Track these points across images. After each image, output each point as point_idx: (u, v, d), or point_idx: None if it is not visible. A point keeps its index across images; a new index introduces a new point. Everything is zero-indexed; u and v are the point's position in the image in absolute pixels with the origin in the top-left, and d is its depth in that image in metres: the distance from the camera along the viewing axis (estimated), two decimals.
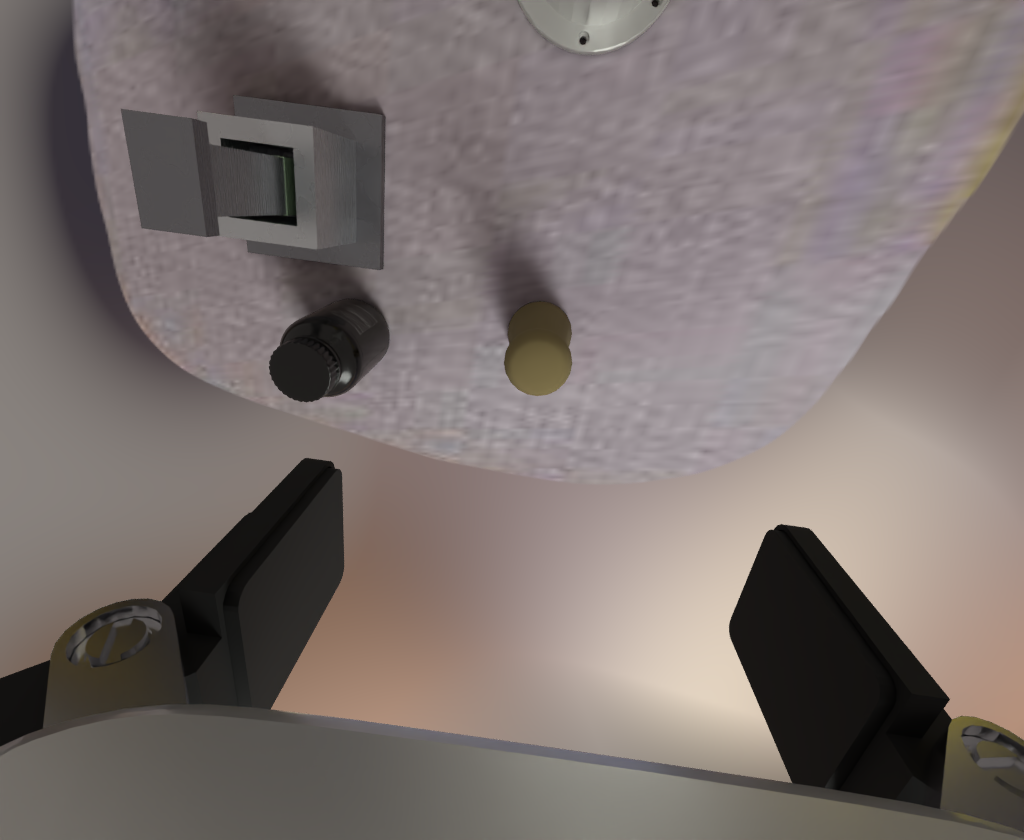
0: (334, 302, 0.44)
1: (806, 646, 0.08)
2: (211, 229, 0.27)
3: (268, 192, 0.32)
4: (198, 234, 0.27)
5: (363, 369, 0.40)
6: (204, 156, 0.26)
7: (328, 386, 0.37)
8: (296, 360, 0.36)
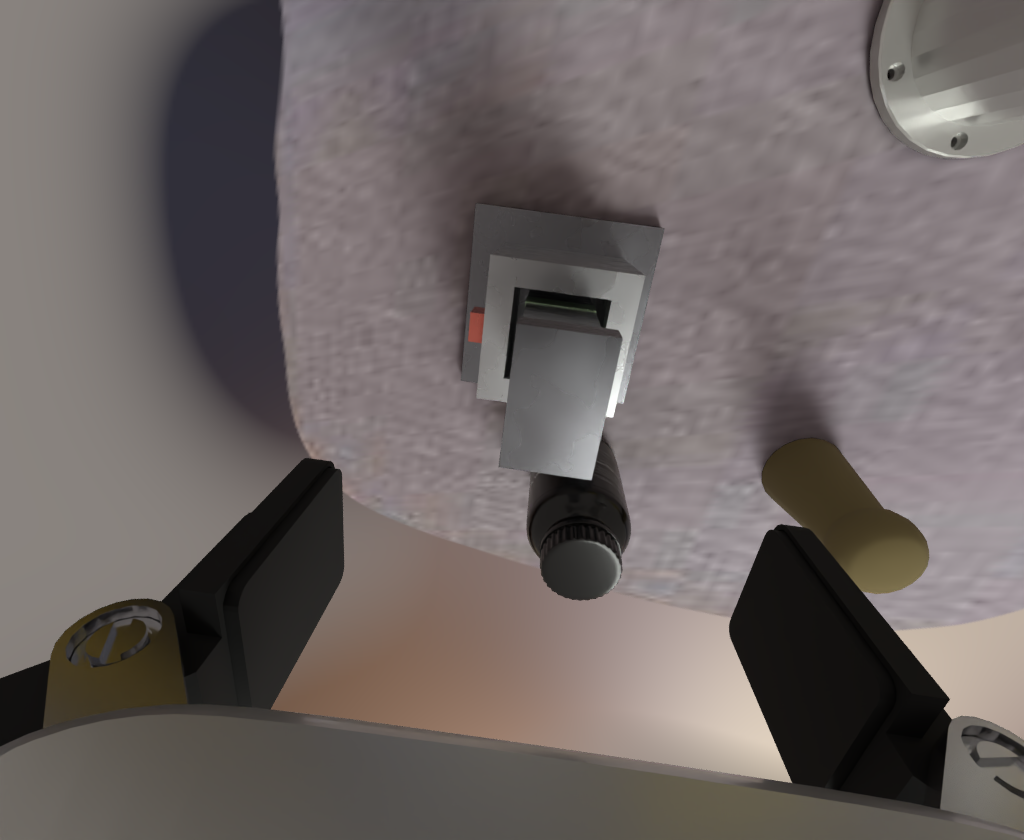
0: None
1: (806, 646, 0.08)
2: None
3: None
4: (581, 477, 0.19)
5: None
6: None
7: (614, 585, 0.29)
8: (580, 557, 0.28)
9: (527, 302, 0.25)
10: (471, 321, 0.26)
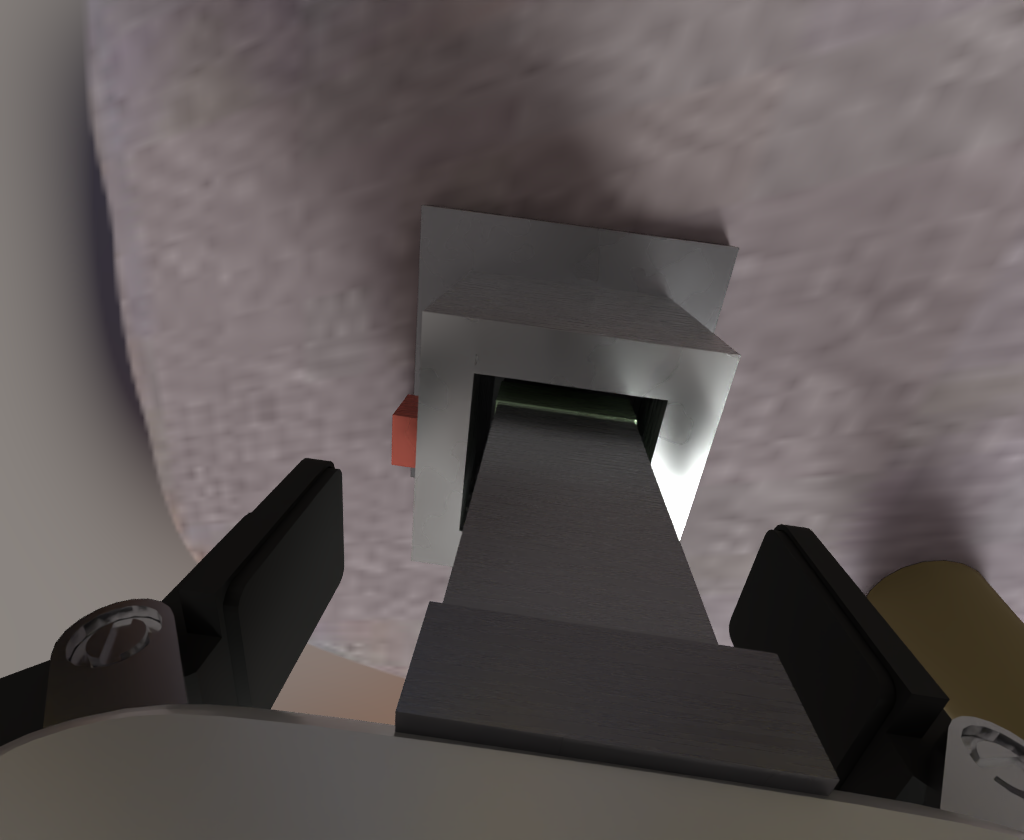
0: None
1: (806, 646, 0.08)
2: None
3: None
4: None
5: None
6: None
7: None
8: None
9: (500, 402, 0.13)
10: (395, 431, 0.14)
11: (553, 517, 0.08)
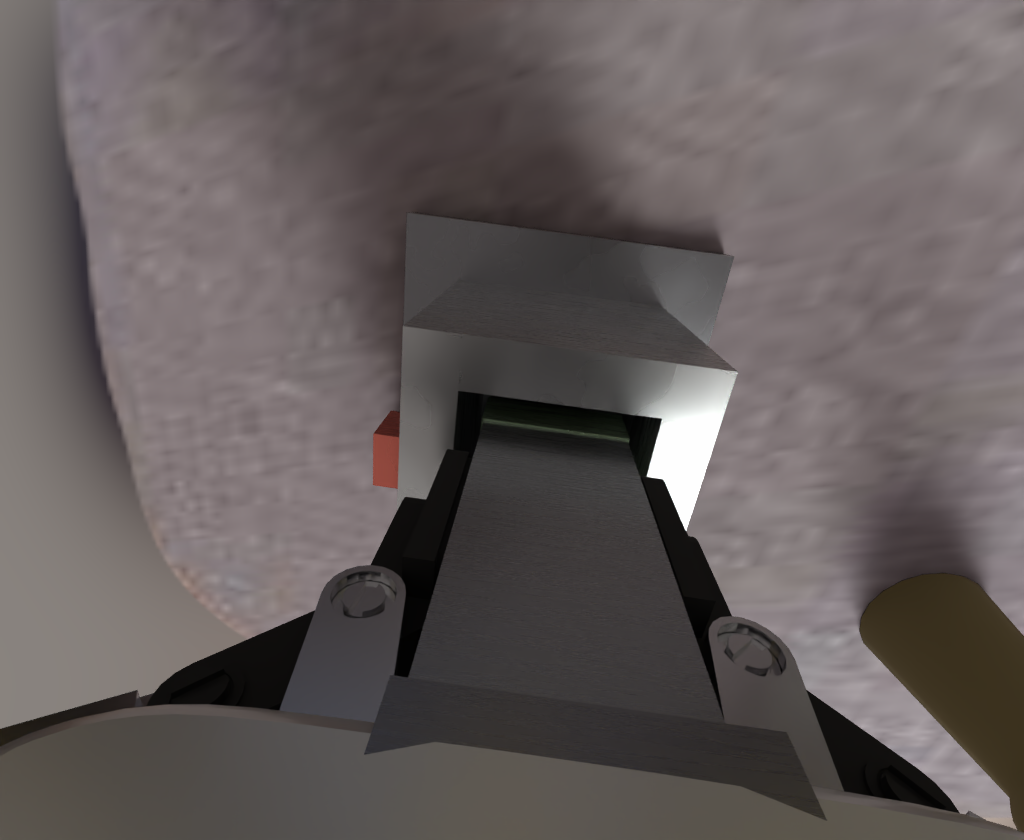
0: None
1: None
2: None
3: None
4: None
5: None
6: None
7: None
8: None
9: (485, 421, 0.12)
10: (376, 450, 0.13)
11: (539, 553, 0.08)
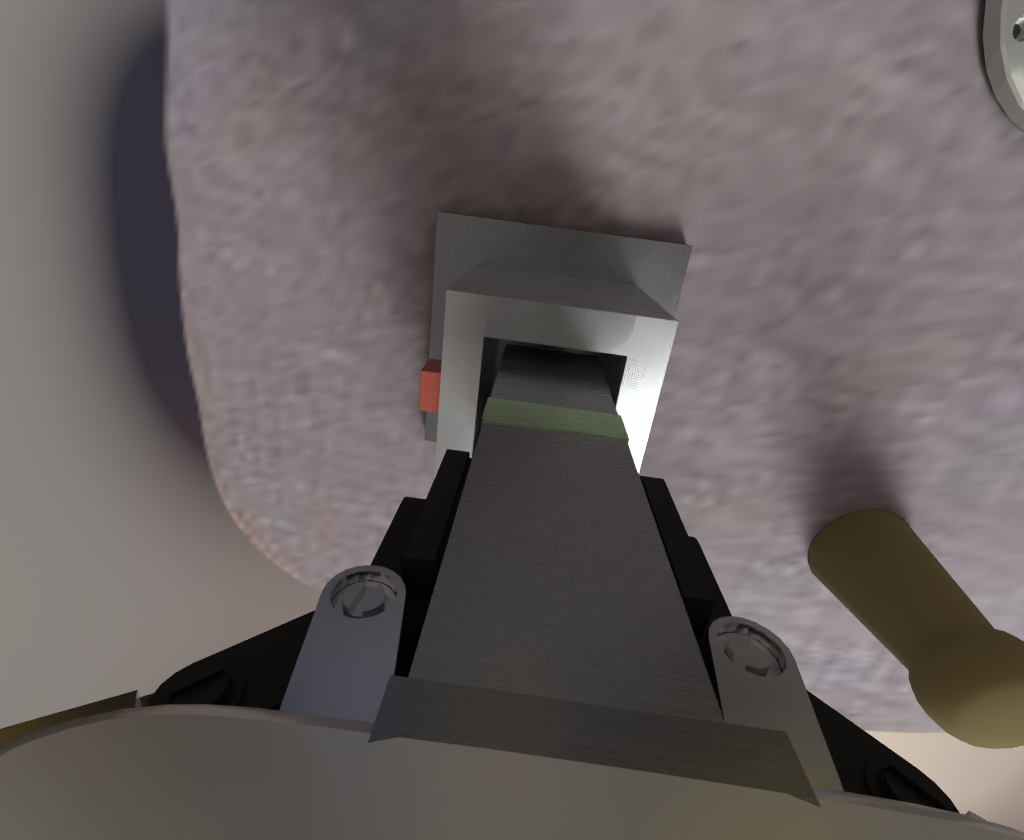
0: None
1: None
2: None
3: None
4: None
5: None
6: None
7: None
8: None
9: (485, 421, 0.12)
10: (423, 383, 0.18)
11: (538, 553, 0.08)
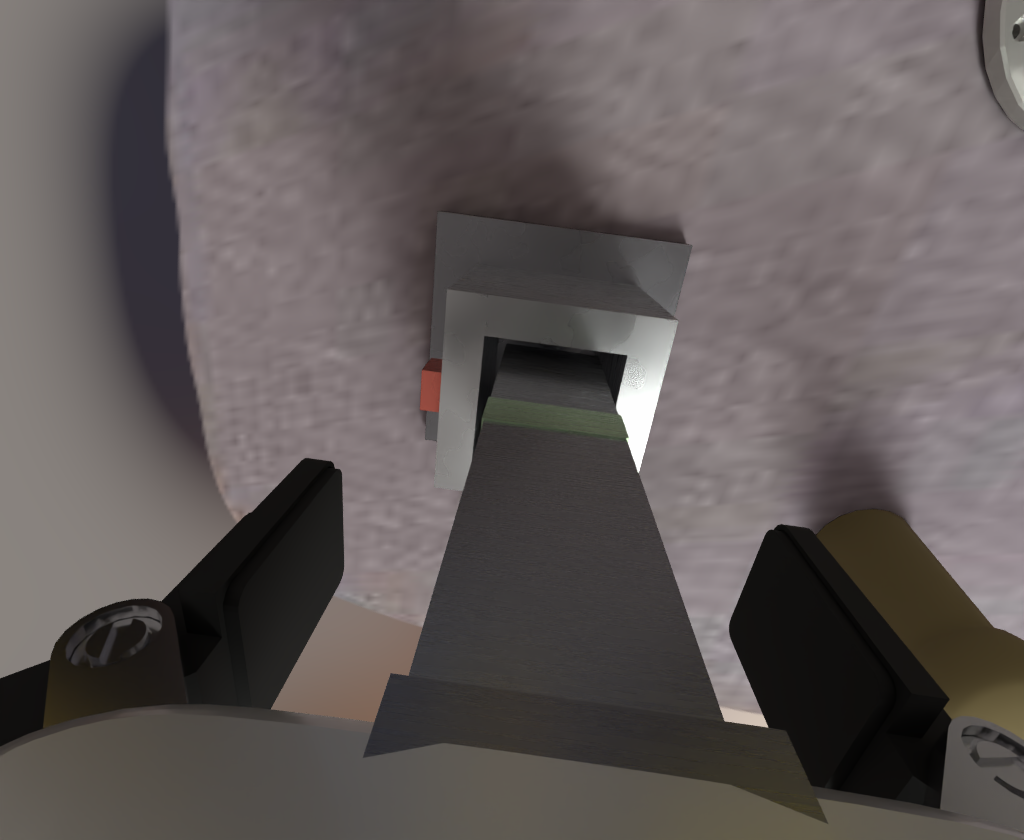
0: None
1: (806, 646, 0.08)
2: None
3: None
4: None
5: None
6: None
7: None
8: None
9: (485, 421, 0.12)
10: (423, 382, 0.18)
11: (538, 552, 0.08)
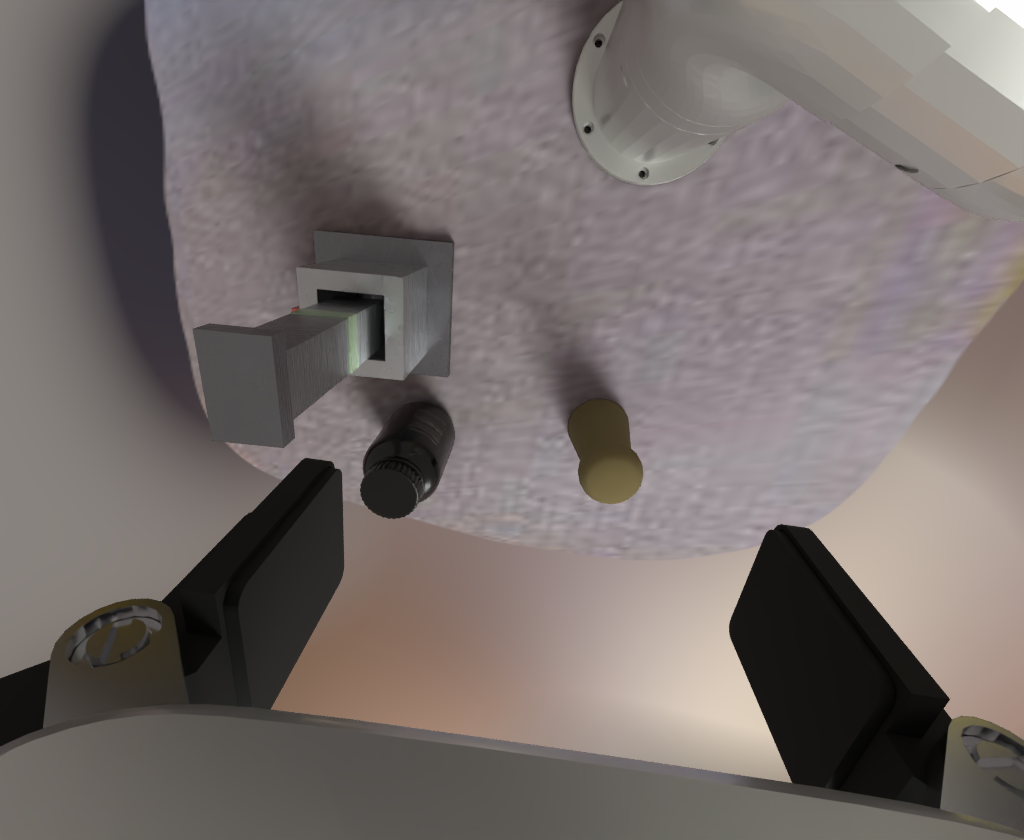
0: (405, 408, 0.47)
1: (806, 646, 0.08)
2: (287, 437, 0.24)
3: (335, 362, 0.30)
4: (274, 446, 0.24)
5: (440, 478, 0.43)
6: (282, 367, 0.23)
7: (415, 504, 0.39)
8: (386, 483, 0.38)
9: (291, 313, 0.31)
10: None
11: None
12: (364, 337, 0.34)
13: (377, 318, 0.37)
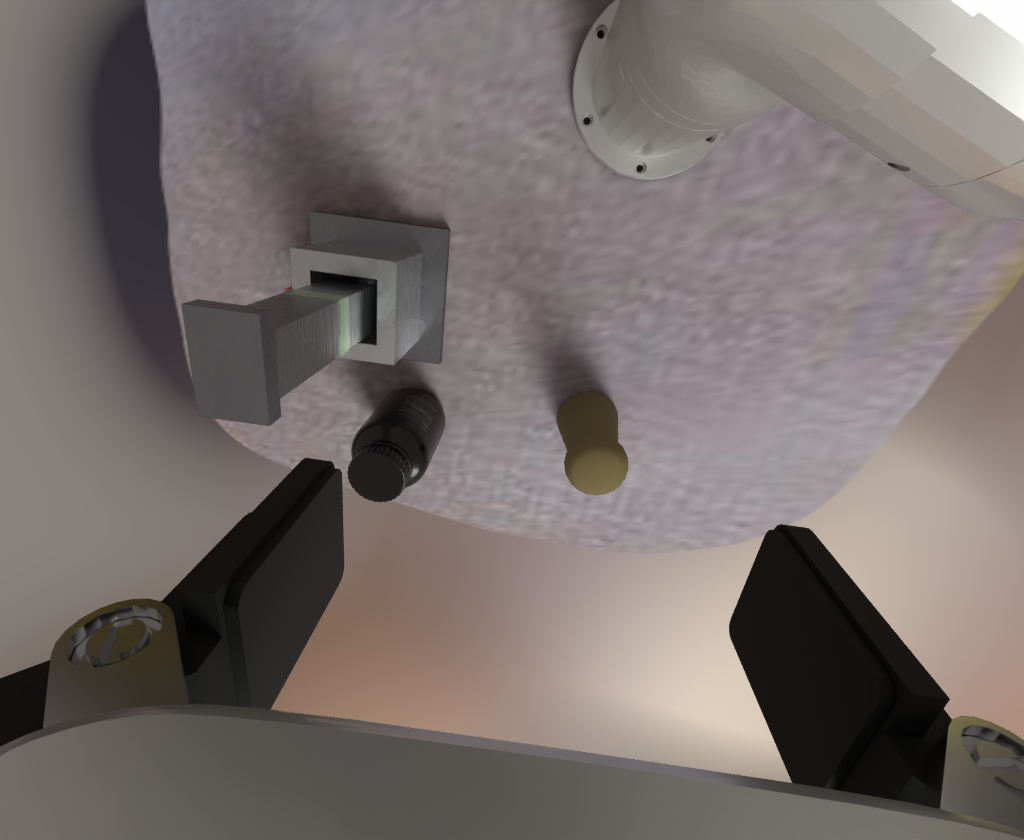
0: (396, 393, 0.47)
1: (806, 646, 0.08)
2: (274, 415, 0.25)
3: (325, 344, 0.30)
4: (260, 423, 0.24)
5: (428, 464, 0.43)
6: (270, 345, 0.23)
7: (402, 489, 0.39)
8: (373, 467, 0.39)
9: (283, 293, 0.31)
10: None
11: None
12: (355, 320, 0.34)
13: (370, 302, 0.37)
